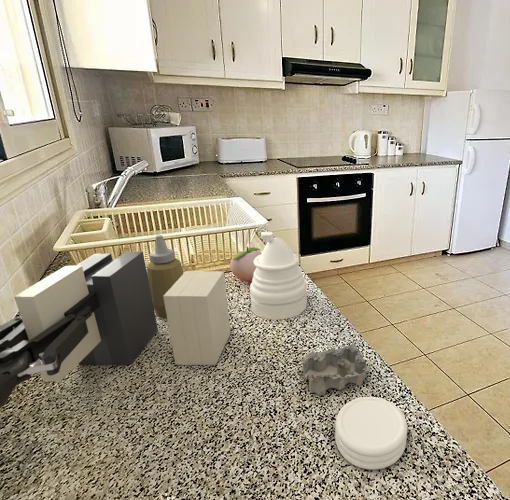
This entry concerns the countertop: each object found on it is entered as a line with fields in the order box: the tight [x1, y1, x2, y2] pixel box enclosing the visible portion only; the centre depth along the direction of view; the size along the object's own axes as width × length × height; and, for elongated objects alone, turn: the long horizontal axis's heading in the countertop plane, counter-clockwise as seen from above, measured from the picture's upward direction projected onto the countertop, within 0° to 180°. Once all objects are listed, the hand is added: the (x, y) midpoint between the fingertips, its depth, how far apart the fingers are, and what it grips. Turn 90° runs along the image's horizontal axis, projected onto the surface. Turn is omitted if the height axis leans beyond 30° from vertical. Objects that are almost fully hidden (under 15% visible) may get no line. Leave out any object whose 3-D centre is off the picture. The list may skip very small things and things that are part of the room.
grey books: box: [75, 250, 159, 366], centre depth 68 cm, size 9×11×18 cm
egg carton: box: [300, 343, 371, 396], centre depth 64 cm, size 11×8×4 cm
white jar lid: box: [334, 396, 408, 471], centre depth 52 cm, size 10×10×4 cm
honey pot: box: [249, 231, 308, 321], centre depth 84 cm, size 13×13×18 cm
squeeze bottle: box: [146, 234, 185, 319], centre depth 80 cm, size 8×8×18 cm
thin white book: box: [13, 265, 101, 382], centre depth 56 cm, size 2×10×14 cm, turn 2°
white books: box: [163, 270, 232, 366], centre depth 69 cm, size 7×10×14 cm
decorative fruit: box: [229, 245, 262, 283], centre depth 97 cm, size 9×8×10 cm
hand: (85, 299), depth 61 cm, fingers closed on thin white book, 2 cm apart
